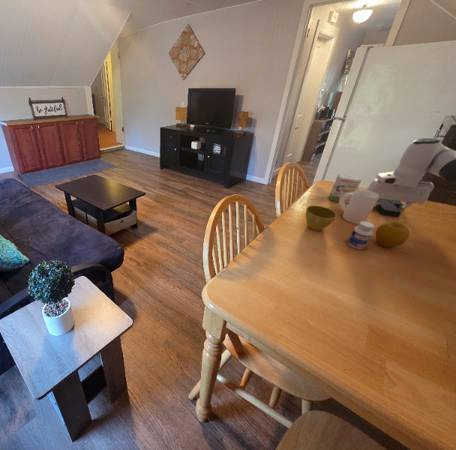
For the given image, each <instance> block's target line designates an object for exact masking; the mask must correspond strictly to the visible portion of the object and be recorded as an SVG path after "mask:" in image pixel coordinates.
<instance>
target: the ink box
mask: <svg viewBox="0 0 456 450" xmlns="http://www.w3.org/2000/svg"><path fill="white" fill-rule="evenodd" d="M361 182H362V179H361V178H360V177H359V176H356V175H355V176H354V175H347V174H340V173H339V174H338V175H337V176H336V178H335V181H334V183H333V185H332V188H331V191H330V193H329V194H328V198H329V201H333V202H339V200H340V198H341V197H342V196H343V195H345V194H347V193H354V191H355V190H358V188H359V187H360V184H361ZM350 199H351V197H349V198H347V199H346V200H345V204H349V202H350Z"/></svg>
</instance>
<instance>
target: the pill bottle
mask: <svg viewBox="0 0 456 450" xmlns="http://www.w3.org/2000/svg"><path fill="white" fill-rule="evenodd" d="M374 228H375V225H374V224H373V223H371V222H369V221H366V222H364V221H362V222H360V223H359V224H358V225H357V226H355V227H354V228H353V229H352V232H351V234H350V235H349V238H348V239H347V244H348V246H350V247H351V248H354V249H357V250H364V249H365V248H366V246H367V245H368V243H369V241H370V240H371V238H372V236H373V235H374V233H373V230H374Z"/></svg>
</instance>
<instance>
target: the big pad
mask: <svg viewBox="0 0 456 450" xmlns="http://www.w3.org/2000/svg"><path fill="white" fill-rule="evenodd" d="M382 200H388V199H382ZM388 201H389V202H390V203H393V204H394V205H395V206H396V207H397V208H400V206H403V205H404V204H403V202H402V201H395V200H388Z"/></svg>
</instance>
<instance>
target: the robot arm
mask: <svg viewBox="0 0 456 450" xmlns="http://www.w3.org/2000/svg"><path fill="white" fill-rule="evenodd" d="M425 173H430V174H432V175H434V176H437V177H438V178H441V179H442V180H444V181H445V182H447V183H449V184H456V150H455V149H452V148H449V147H448V146H446V145H444V144H443V143H442V142H441V140H440V139H437V138H426V137H425V138H418V139H415V140H413V141H412V142H411V143H410V144H409V145H408V147H407V148H406V149H405V151H404V152H403V154H402V156H401V157H400V160H399V164H398V166H397V167H396V168H395V169H394V170H393V171H388V172H381V173H377V174H376V178H375V179H374V180H373V181H371V182H370V184H369V186H368V187H367V189H366V190H368V191H372V192H374V193H376V194H378V195H379V198H378V199H377V200H379V199H388V200H395V201H400V202H401V203H404V204H403V206H400V208H398V209H399V210H400V211H401V212H405V210H406V209H407V208H409V207H411V206H412V205H413V204H419V205H423V204H425V203H426V202H427V201H428V199H429V196H430V195H431V192H432V191H433V190H434V188H435V184H434V183H432V182H431V181H423V180H422V178H423V177H424V174H425ZM378 206H379V203H378V202H377V201H376V203H375V205H374V207H373V208H376V207H378Z"/></svg>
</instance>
